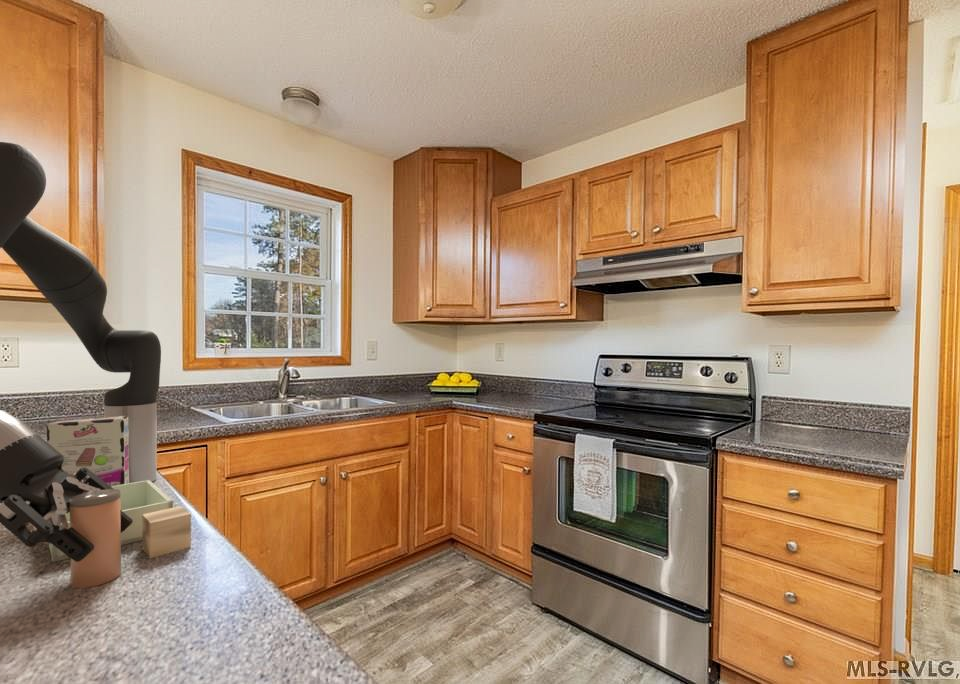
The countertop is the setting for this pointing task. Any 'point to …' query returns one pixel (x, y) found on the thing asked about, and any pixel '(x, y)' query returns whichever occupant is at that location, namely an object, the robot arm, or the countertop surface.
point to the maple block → (166, 531)
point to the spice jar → (97, 536)
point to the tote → (130, 510)
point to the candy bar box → (93, 446)
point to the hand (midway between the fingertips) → (108, 540)
